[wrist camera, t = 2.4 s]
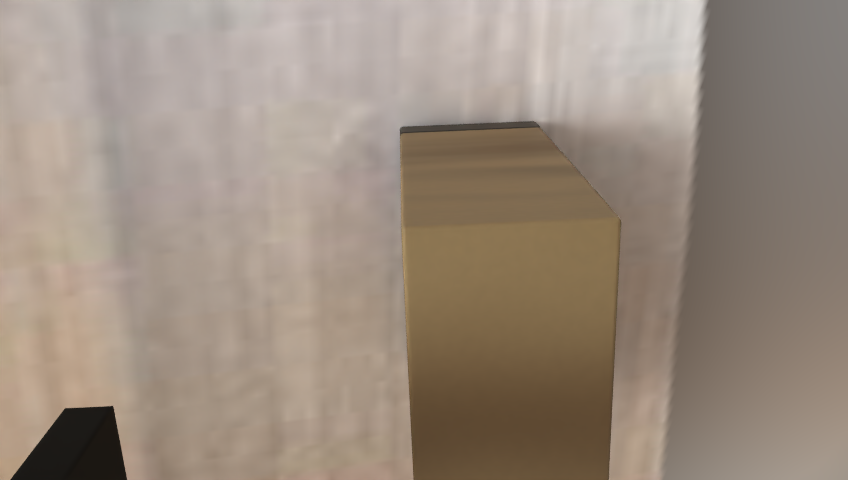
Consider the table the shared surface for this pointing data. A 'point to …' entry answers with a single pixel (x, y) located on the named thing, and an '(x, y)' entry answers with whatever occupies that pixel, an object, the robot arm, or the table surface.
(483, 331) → the tan rectangular block
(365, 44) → the table surface
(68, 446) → the robot arm
